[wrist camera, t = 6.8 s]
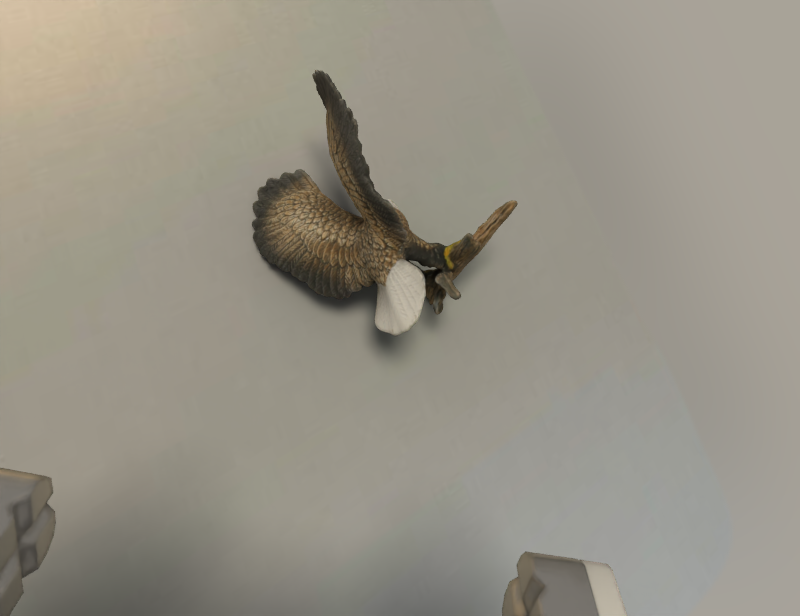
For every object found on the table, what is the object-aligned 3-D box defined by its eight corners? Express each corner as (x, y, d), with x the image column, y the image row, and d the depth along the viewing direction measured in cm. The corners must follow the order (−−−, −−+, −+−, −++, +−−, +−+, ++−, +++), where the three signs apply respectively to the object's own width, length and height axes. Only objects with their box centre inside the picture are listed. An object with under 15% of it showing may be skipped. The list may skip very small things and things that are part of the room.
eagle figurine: (506, 189, 28) (330, 62, 26) (534, 218, 21) (297, 50, 19) (405, 326, 30) (237, 216, 28) (400, 394, 23) (179, 253, 22)
